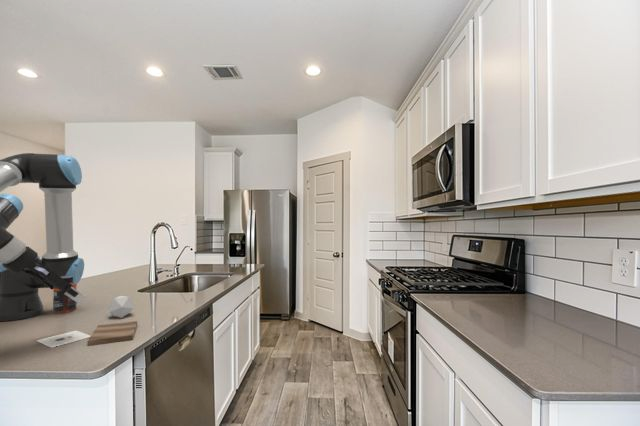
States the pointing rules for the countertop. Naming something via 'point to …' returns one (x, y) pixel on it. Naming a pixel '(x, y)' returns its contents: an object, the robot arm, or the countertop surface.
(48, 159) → the robot arm
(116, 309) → the die
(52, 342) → the white tile
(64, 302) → the supplement bottle
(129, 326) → the walnut board
